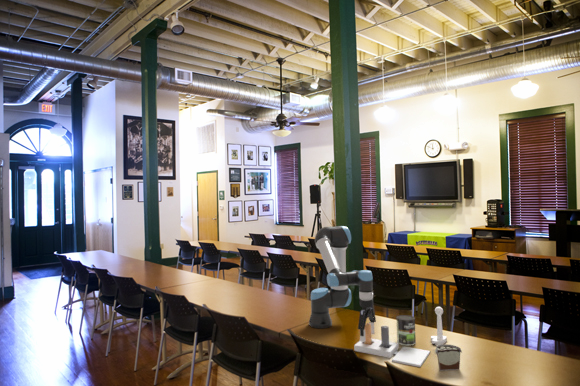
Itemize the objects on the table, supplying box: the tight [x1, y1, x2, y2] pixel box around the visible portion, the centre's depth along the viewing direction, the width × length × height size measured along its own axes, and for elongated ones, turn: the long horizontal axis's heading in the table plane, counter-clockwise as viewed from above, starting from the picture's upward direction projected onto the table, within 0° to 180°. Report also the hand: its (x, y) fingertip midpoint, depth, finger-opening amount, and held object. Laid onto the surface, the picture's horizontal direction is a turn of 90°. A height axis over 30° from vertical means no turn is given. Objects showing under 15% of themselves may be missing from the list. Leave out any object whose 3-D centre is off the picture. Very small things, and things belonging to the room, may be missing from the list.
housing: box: [353, 338, 400, 359], centre depth 211 cm, size 20×14×3 cm
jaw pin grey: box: [380, 325, 390, 348], centre depth 208 cm, size 4×4×13 cm
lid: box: [391, 345, 431, 368], centre depth 200 cm, size 16×20×1 cm
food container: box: [434, 343, 463, 372], centre depth 186 cm, size 12×6×10 cm, turn 92°
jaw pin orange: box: [364, 322, 373, 345], centre depth 213 cm, size 4×4×13 cm
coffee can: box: [395, 314, 417, 347], centre depth 220 cm, size 10×10×14 cm
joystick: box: [430, 306, 448, 347], centre depth 219 cm, size 11×8×20 cm
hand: (367, 337), depth 213 cm, fingers open, 13 cm apart
